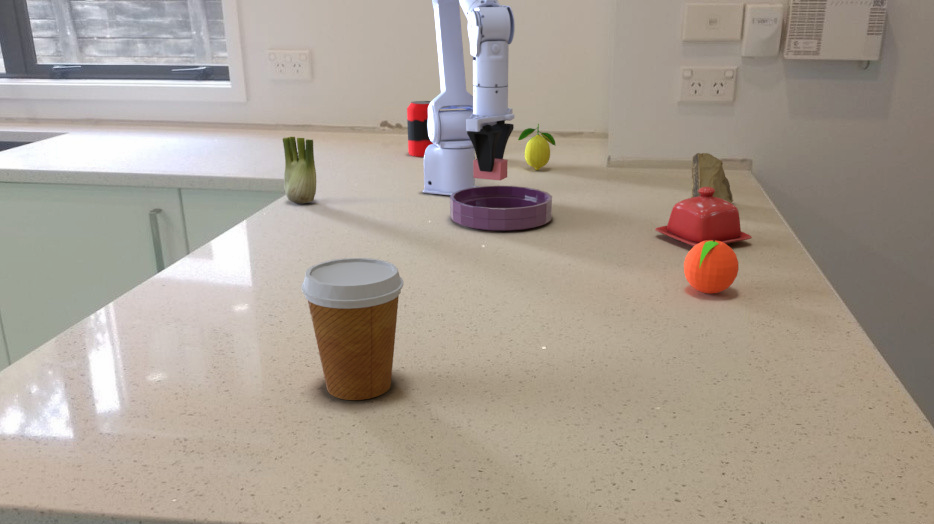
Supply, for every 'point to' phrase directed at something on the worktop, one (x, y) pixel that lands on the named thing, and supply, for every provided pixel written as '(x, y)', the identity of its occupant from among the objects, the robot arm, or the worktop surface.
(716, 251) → the clementine
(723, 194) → the rock
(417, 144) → the soda can
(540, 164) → the lemon
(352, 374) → the disposable coffee cup
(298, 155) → the fennel bulb
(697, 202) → the butter dish
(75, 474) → the worktop surface
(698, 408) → the worktop surface
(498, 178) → the eraser
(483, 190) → the bowl
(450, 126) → the robot arm
